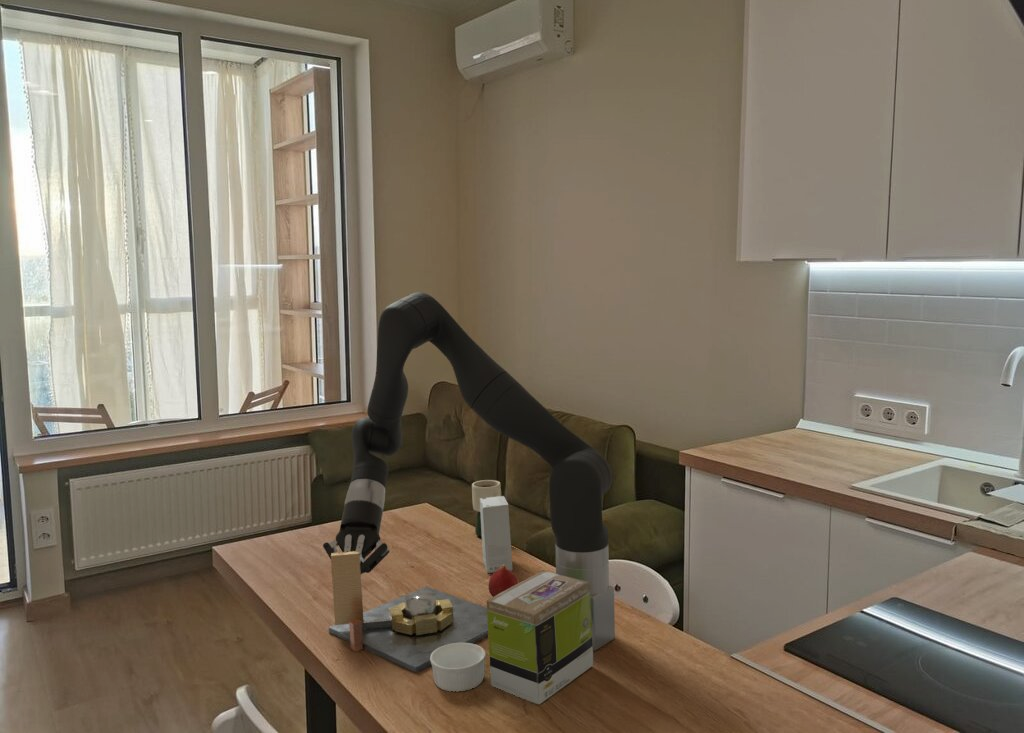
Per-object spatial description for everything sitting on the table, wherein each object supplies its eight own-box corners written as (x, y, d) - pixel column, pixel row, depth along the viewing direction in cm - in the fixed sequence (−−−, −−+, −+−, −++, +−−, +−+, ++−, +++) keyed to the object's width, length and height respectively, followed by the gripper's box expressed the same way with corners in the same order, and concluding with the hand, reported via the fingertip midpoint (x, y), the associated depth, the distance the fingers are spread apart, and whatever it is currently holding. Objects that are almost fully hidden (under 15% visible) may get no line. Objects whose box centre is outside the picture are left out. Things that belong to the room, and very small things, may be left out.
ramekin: (436, 699, 124) (435, 672, 123) (427, 671, 132) (425, 646, 132) (492, 689, 126) (491, 663, 126) (479, 663, 135) (478, 638, 134)
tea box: (545, 650, 138) (543, 567, 136) (594, 667, 132) (593, 580, 130) (488, 687, 127) (484, 597, 125) (539, 707, 120) (536, 613, 118)
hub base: (513, 622, 149) (512, 591, 148) (408, 677, 130) (406, 642, 130) (426, 590, 165) (425, 562, 164) (321, 635, 146) (319, 604, 146)
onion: (483, 607, 156) (482, 567, 155) (498, 596, 161) (496, 557, 160) (510, 612, 154) (508, 572, 153) (523, 600, 159) (522, 561, 158)
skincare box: (512, 571, 174) (510, 505, 172) (485, 574, 173) (482, 507, 172) (507, 558, 182) (505, 494, 181) (481, 560, 182) (478, 496, 180)
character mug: (513, 536, 197) (511, 484, 195) (490, 543, 192) (488, 490, 191) (485, 526, 205) (484, 476, 204) (463, 533, 201) (461, 482, 199)
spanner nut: (458, 607, 153) (455, 536, 152) (446, 635, 142) (443, 559, 140) (351, 605, 156) (347, 536, 154) (331, 633, 144) (326, 558, 142)
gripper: (400, 516, 160) (387, 601, 149) (336, 516, 161) (318, 600, 151) (393, 498, 154) (378, 585, 143) (325, 498, 155) (307, 584, 145)
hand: (347, 593), depth 147 cm, fingers closed
